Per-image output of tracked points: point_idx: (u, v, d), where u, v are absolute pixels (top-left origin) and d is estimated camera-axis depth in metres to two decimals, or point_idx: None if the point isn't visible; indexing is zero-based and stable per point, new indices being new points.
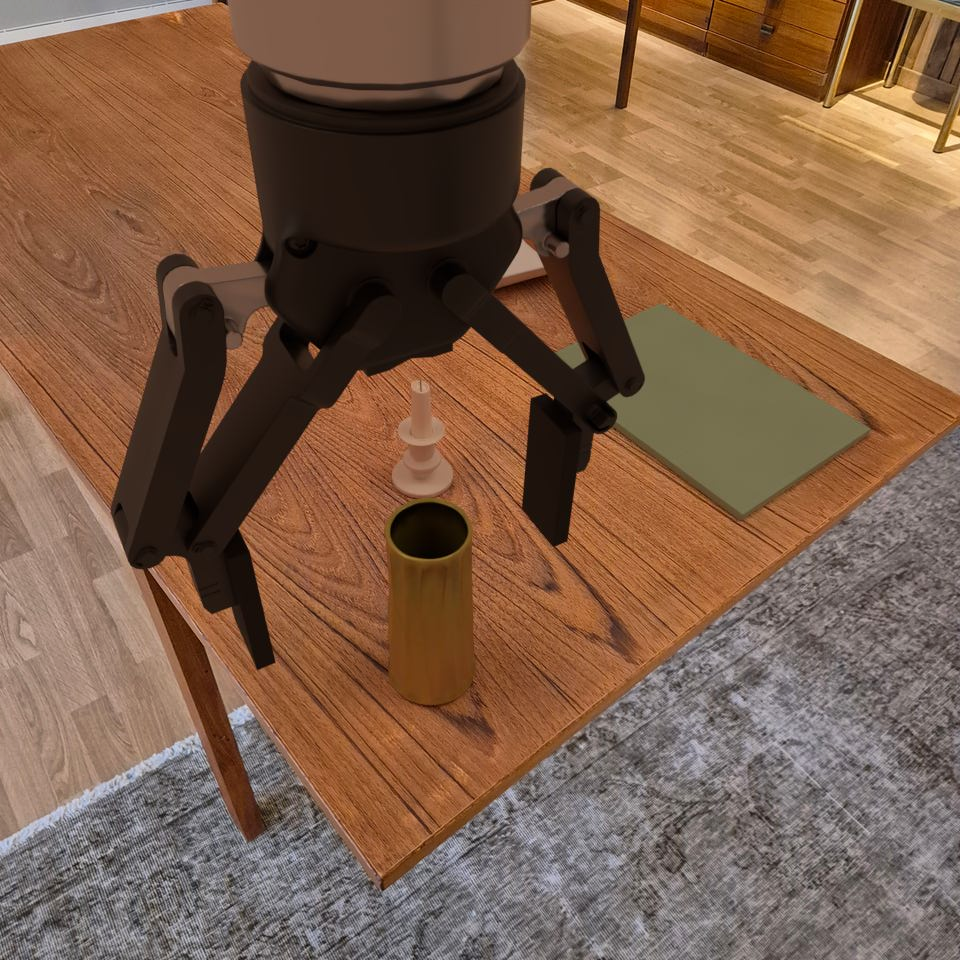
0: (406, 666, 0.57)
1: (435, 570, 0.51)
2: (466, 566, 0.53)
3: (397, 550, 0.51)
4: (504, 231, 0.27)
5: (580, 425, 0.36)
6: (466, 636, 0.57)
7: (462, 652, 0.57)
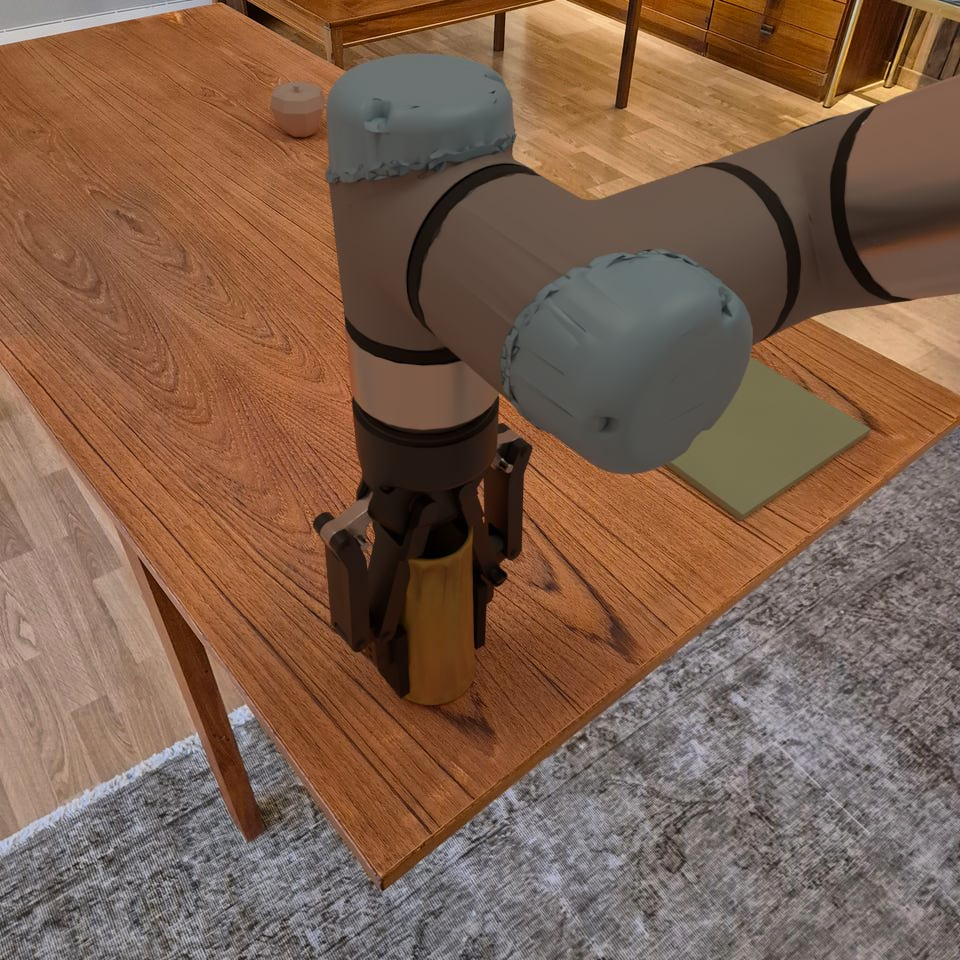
0: None
1: (435, 570, 0.51)
2: (466, 566, 0.53)
3: None
4: None
5: (485, 579, 0.58)
6: (466, 636, 0.57)
7: (462, 652, 0.57)
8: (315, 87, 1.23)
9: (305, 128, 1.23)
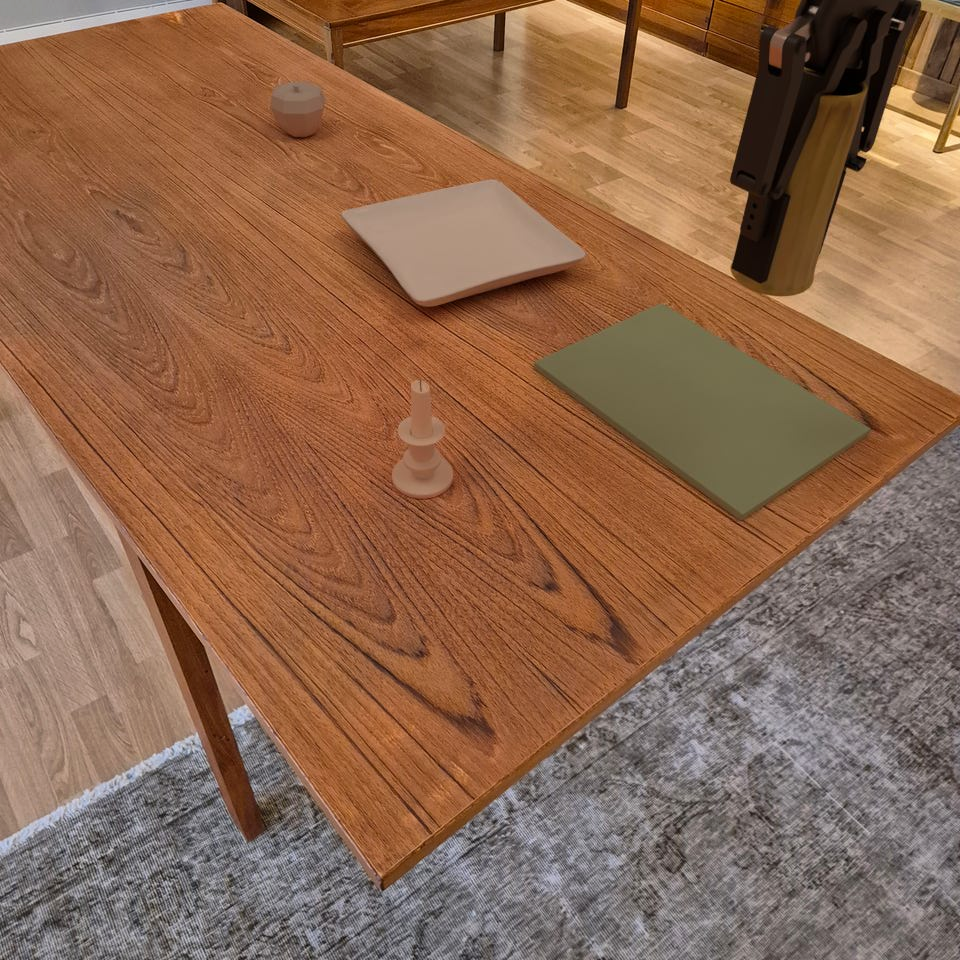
0: None
1: (841, 110, 0.56)
2: (856, 120, 0.58)
3: None
4: None
5: None
6: (828, 216, 0.62)
7: (822, 232, 0.63)
8: (315, 87, 1.23)
9: (305, 128, 1.23)
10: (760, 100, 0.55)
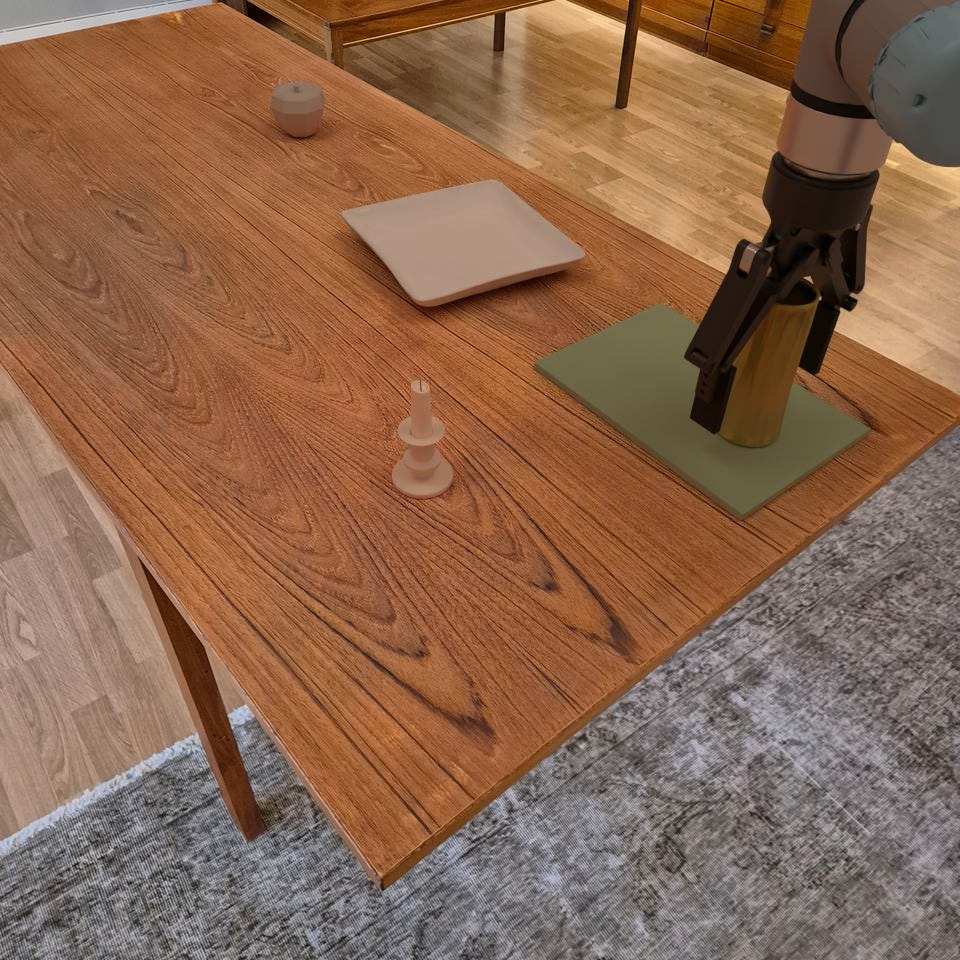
0: (744, 410, 0.76)
1: (798, 315, 0.69)
2: (811, 319, 0.71)
3: None
4: None
5: None
6: (791, 386, 0.76)
7: (787, 399, 0.76)
8: (315, 87, 1.23)
9: (305, 128, 1.23)
10: (725, 294, 0.66)
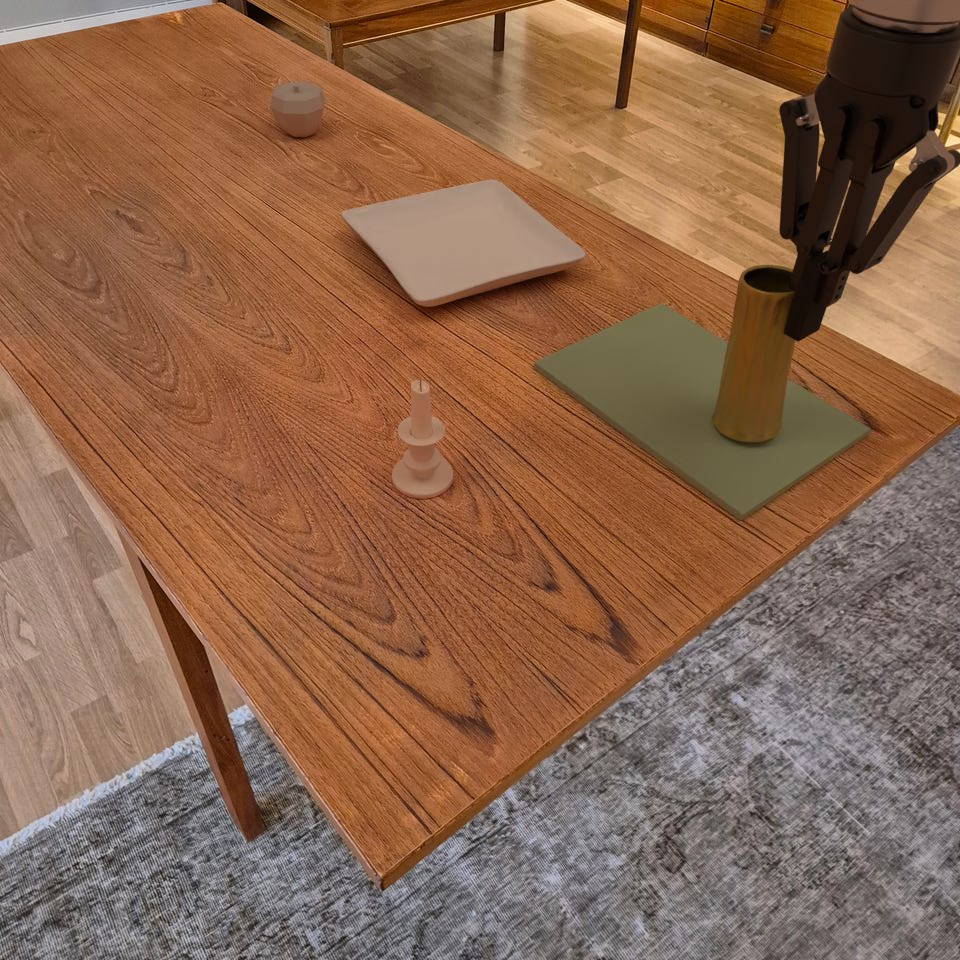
0: (741, 404, 0.76)
1: (785, 302, 0.70)
2: None
3: (757, 289, 0.70)
4: None
5: None
6: (787, 378, 0.76)
7: (784, 391, 0.76)
8: (315, 87, 1.23)
9: (305, 128, 1.23)
10: (907, 209, 0.60)
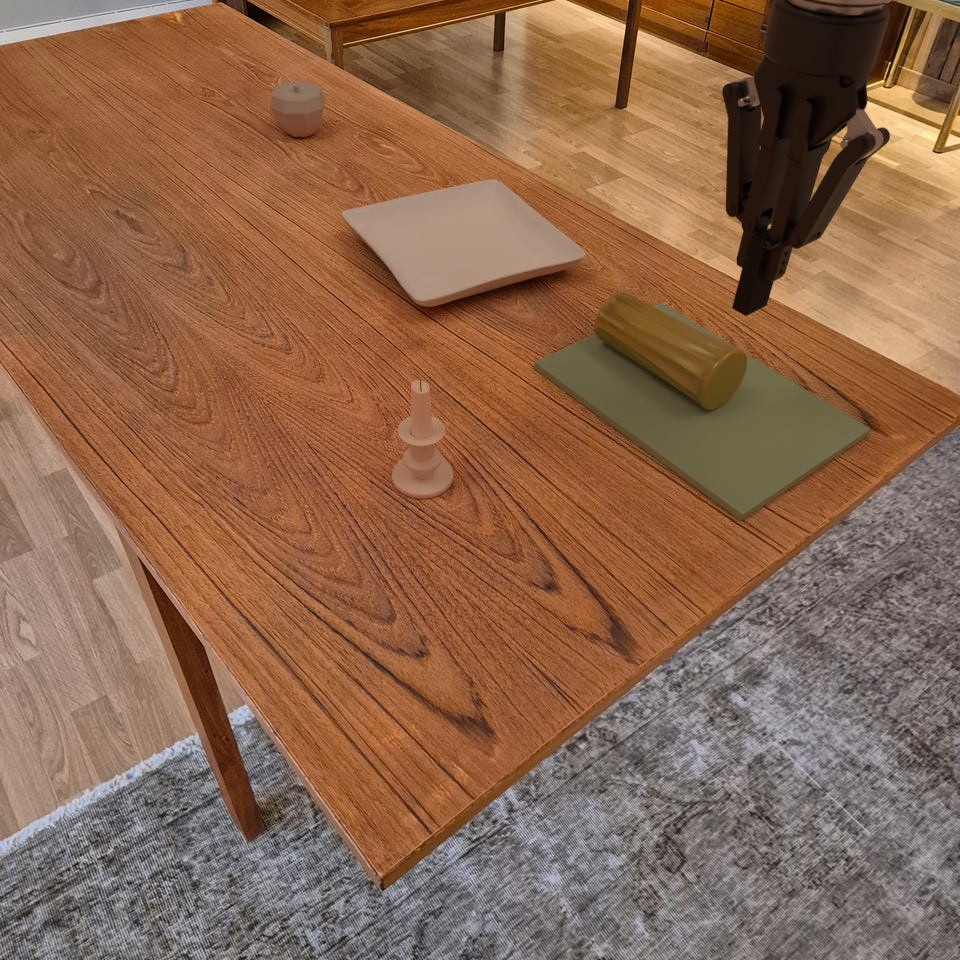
0: (677, 363, 0.80)
1: (613, 302, 0.86)
2: (638, 300, 0.86)
3: (595, 320, 0.87)
4: None
5: None
6: (690, 327, 0.82)
7: (696, 331, 0.81)
8: (315, 87, 1.23)
9: (305, 128, 1.23)
10: (841, 185, 0.63)
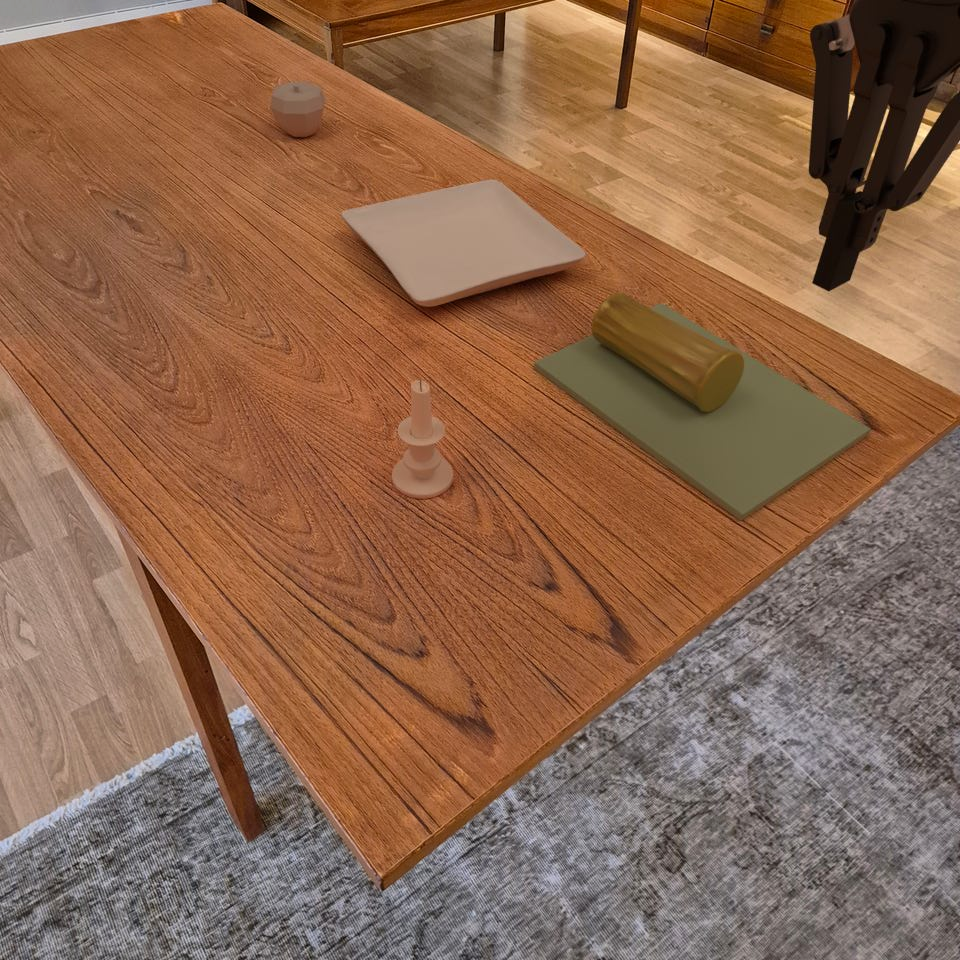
0: (672, 369, 0.80)
1: (608, 306, 0.86)
2: (633, 301, 0.86)
3: (592, 324, 0.87)
4: None
5: None
6: (685, 329, 0.82)
7: (690, 334, 0.81)
8: (315, 87, 1.23)
9: (305, 128, 1.23)
10: (953, 135, 0.55)
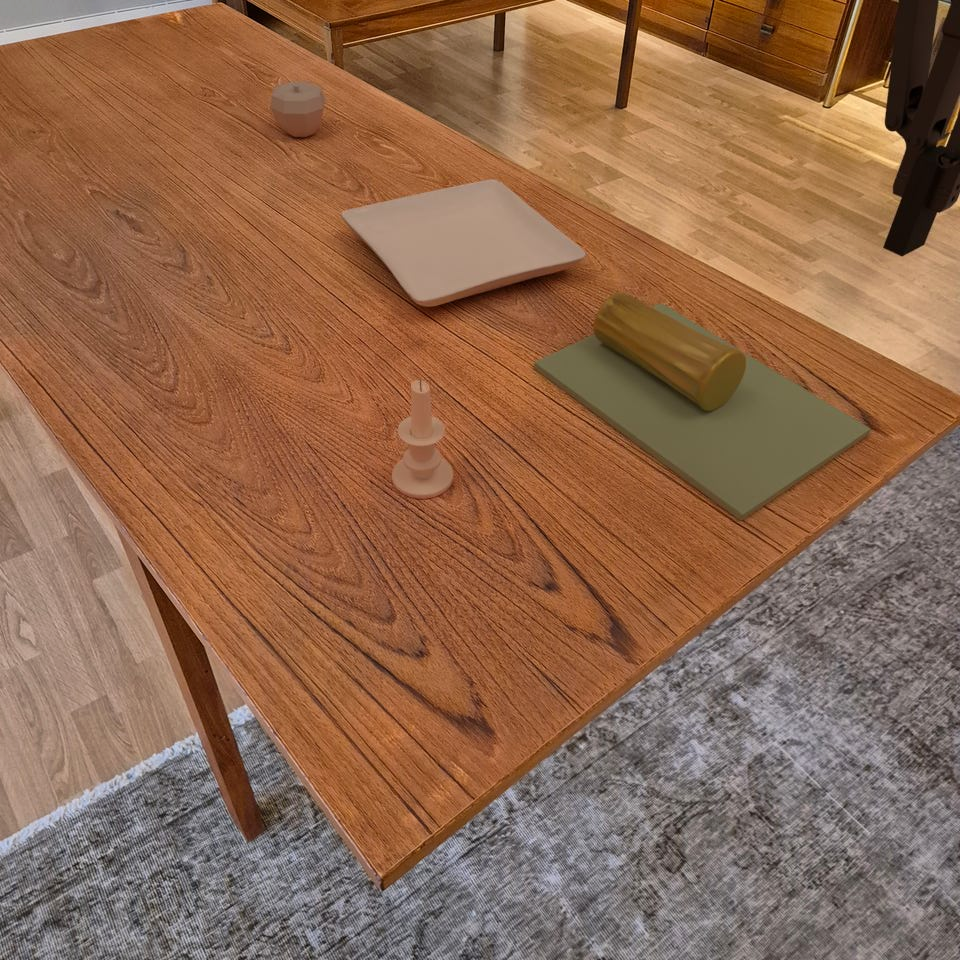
0: (675, 365, 0.80)
1: (611, 304, 0.86)
2: (636, 301, 0.86)
3: (594, 322, 0.87)
4: None
5: None
6: (688, 327, 0.82)
7: (693, 332, 0.81)
8: (315, 87, 1.23)
9: (305, 128, 1.23)
10: None
